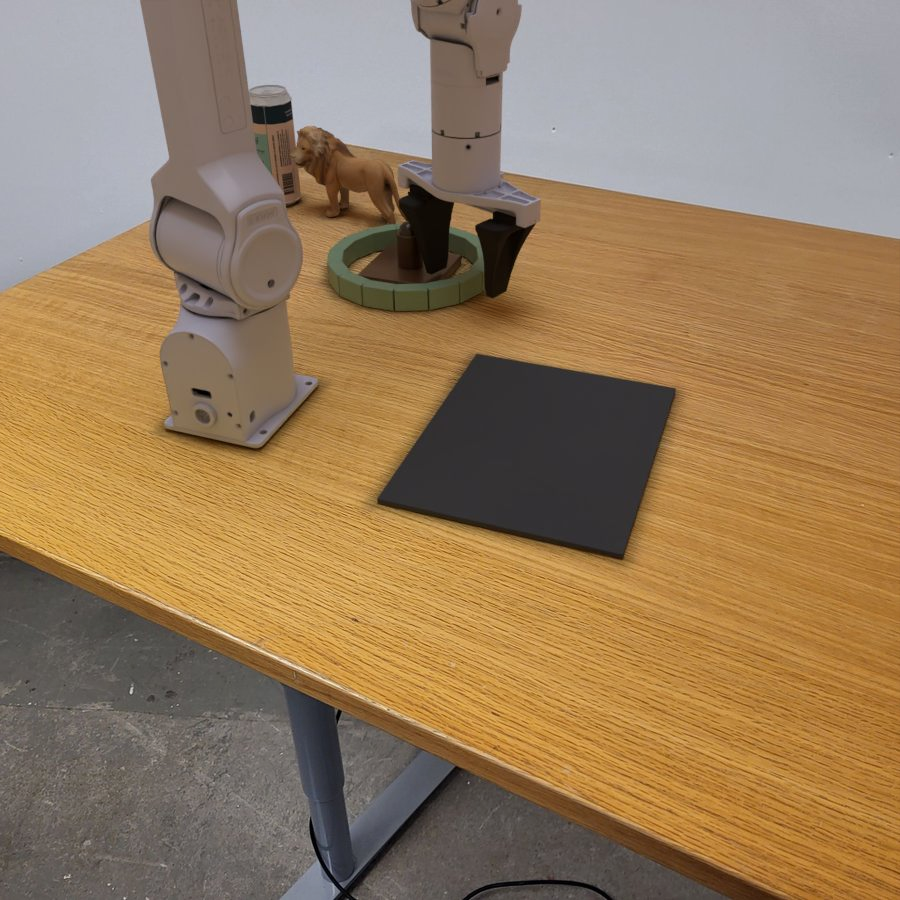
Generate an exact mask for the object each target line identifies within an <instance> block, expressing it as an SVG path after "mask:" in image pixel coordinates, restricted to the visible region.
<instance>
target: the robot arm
mask: <svg viewBox="0 0 900 900" xmlns="http://www.w3.org/2000/svg"><path fill="white" fill-rule="evenodd" d="M139 4H140V8H141V13H142V19H143V24H144V30H145V36H146V40H147V46H148V52H149V56H150V62H151V68H152V72H153V78H154V83H155V89H156V95H157V101H158V106H159V110H160V115H161V116H160V117H161V121H162V126H163V131H164V137H165V142H166V147H167V154H168V160H166V162H165V163H164V164H162V166H161V167H160V168H158V169H157V171H155V173H153V175H152V176H151V178H150V184H151V189H152V196H153V209H152V212H151V217H150V221H149V228H148V238H149V243H150V247H151V250H152V253H153V254H154V256H155V258H156V259H157V261H158V262H159V263H160V264H161V265H162V266H163V267H164V268H166V269H168V270H170V271H171V272H173V277H174V281H175V287H176V289H177V290H178V292H177V293H178V296H179V301H180V302H179V312H178V316H177V320H176V321H175V324H174V326H173V327H172V329H171V330H170V332H169V333H168V334H167V335H166V337H164V340H163V341H162V343H161V345H160V349H159V362H160V368H161V373H162V377H163V381H164V386H165V391H166V397H167V400H168V405H169V409H170V415H169V416H168V417H167V418H166V419H165V420H164V421H163V426H164V428H165V429H167V430H170V431H175V432H180V433H183V434H188V435H193V436H197V437H202V438H207V439H212V440H216V441H221V442H225V443H230V444H234V445H239V446H243V447H247V448H251V449H252V448H253V449H259V448H261V447H263V446H264V445H265V444H266V443H267V442H268V441H269V440H270V439H271V438H272V436H273V435H274V434H275V433H276V432H278V430H279V429H280V427H282V425H284V423H286V421H287V420H288V419H289V418H290V417H291V416H292V415H293V414H294V412H295V411H296V410H297V409H298V408H299V407H300V406H301V404H303V402H304V401H305V400H306V399H307V398H308V397H309V396H310V395H311V394H312V393H313V391H314V390H315V389H316V388H317V387H318V386H319V379H318V378H317V377H314V376H309V375H304V374H298V373H296V372H295V371H296V370H295V363H294V356H293V355H294V354H293V346H292V338H291V337H292V336H291V329H290V321H289V312H288V305H287V301H288V300H290V299H291V292H292V290H293V289H294V287H295V285H296V284H297V282H298V279H299V277H300V276H301V271H302V268H303V262H304V250H303V249H304V248H303V243H302V239H301V237H300V235H299V234H300V233H298V231H297V229H296V228H295V226H294V225H293V224H292V222H291V219H290V218H289V214H288V210H287V206H286V204H285V195H284V193H283V191H282V189H281V188H280V186H279V185H278V183H277V182H276V180H275V179H274V178H273V176H272V175H271V173H270V172H269V171H268V169H267V168H266V166H265V165H264V164H263V162H262V161H261V159H260V158H259V156H258V154H257V150H256V142H255V135H254V127H253V119H252V112H251V104H250V97H249V89H250V88H249V81H248V74H247V68H246V59H245V52H244V45H243V37H242V29H241V21H240V14H239V6H238V0H139ZM410 9H411V17H412V18H411V19H412V22H413V25H414V28H415V31H416V32H418V33H421V35H422V36H423V37H424V38H425V39H428V40H429V59H430V61H429V63H430V68H429V69H430V120H431V121H430V123H431V125H430V126H431V128H430V129H431V163H429V162H423V161H417V160H415V159H412V160H409V161H406V162H403V163H400V164H397V184H398V186H397V187H399V188H402V189H406V190H408V189H409V191H408V192H407V195H404V196H402V197H399V198H400V199H399V208H400V209H401V211H402V212H403V214H404V215H405V217H406V218H407V220H408V222H409V224H410V226H411V228H412V230H413V232H414V234H415V237H416V239H417V242H418V245H419V248H420V251H421V255H422V258H423V262H424V265H425V268H426V272H427V273H429V274H431V275H432V274H434V273H436V272H438V271H440V270H443V269H445V268H446V267H447V262H448V253H450V251H449V228H450V226H451V222H452V216H453V215H452V214H453V210H454V206H455V204H462V205H465V206H468V207H472V208H474V209H477V210H481V211H484V212H486V213H489V214H492V218H489V219H486V220H483V221H482V222H479V223H477V224H475V225H474V230H475V232H476V235H477V236H478V238H479V241H480V244H481V248H482V253H483V260H484V285H485V289H484V292H485V296H486V297H487V298H490V299H494V298H496V297H499V296H500V295H502V294H505V293H506V292H507V291H508V286H509V283H510V280H511V276H512V273H513V269H514V267H515V264H516V261H517V259H518V257H519V254H520V252H521V250H522V248H523V245H524V244H525V242H526V240H527V239H528V237H529V236H530V233H531V232H532V230H534V228H535V226H536V225H537V223H539V222H541V206H542V198H540V197H537V196H533V195H531V194H529V193H527V192H525V191H523V190H522V189H520V188H519V187H517V186H515V185H514V184H512V183H510V182H509V181H507V180H505V179H504V178H505V177H504V175H505V174H504V171H502V170H501V165H502V164H501V161H502V159H501V157H502V155H501V153H502V127H503V126H502V124H503V123H502V121H503V116H502V115H503V86H504V85H503V82H504V79H503V78H504V72H506V71H507V69H508V64H510V62H511V61H510V60H511V47H512V42H513V39H514V38H515V36H516V33H517V31H518V28H519V25H520V20H521V16H522V11H523V6H522V4H521V3H519V0H410Z"/></svg>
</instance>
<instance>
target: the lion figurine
mask: <svg viewBox="0 0 900 900" xmlns="http://www.w3.org/2000/svg"><path fill="white" fill-rule="evenodd" d="M296 133H297V139H296V148H295V149H294V150H293V151H292V152H291V153H290V156H291V158H292V160H294V161H295V163H296V167H297V168H298V170H299V169H303V170H304V171H305V172H306V173H307V174H309V175H310V176H312V177H314V179H315V182H316V183H317V184H319V185H320V186H321V185H322V186H324V187H325V190H326V195H327V198H328V201H329V203H330V206H331V208H330V209H327V210H326V212H325V215H326V216H327V218H334V217H335V218H336V217H337V216H339V214H340V212H341V210H342V209H347V208H349V207H350V191H351V192H353V193H357V194H361V193H366V192H367V194H368V196H369V199H370V200H371V202H372V204H373V205H374V207H375V208H376V209H377V210H378V211H379V212H380V213H381V217H382V218H383V219H384V220H386V221H387V223H386V224H385V225H390V224H394V225H395V224H397V221H396V218H395V214H394V213H395V210H396V208H395V207H397V209H398V211H399V214H400V216H401V217H402V218H403V219H404V221H405V222H406V221H408V220H407V218H406V217H405V215H404V214H403V212H402V211H401V209H400V208H399V199H400V198H401V197H400V194H399V191H398V186H397V183H396V180H395V175H394V170H393V169H392V167H391V166H390V165H389V163H387V162H386V161H384V160H383V159H376V158H375V159H372V158H371V159H369V158H362V157H359V156H355V155H354V154H353V153H352V152H350V150H349V147H348V146H347V144H345V143H344V142H343V141H342V140H341V139H340V138H339V137H335V135H334V134H333V133H332V132H329V131H328V130H325V129H323V128H322V127H317V126H316V125H306V126H304V127H301V128H300V129H299V130H297V131H296ZM339 195H340V197H339ZM339 198H340V199H339ZM393 199H394V201H393ZM394 202H395V204H396V206H395V204H394Z"/></svg>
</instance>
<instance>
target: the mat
mask: <svg viewBox="0 0 900 900" xmlns="http://www.w3.org/2000/svg"><path fill="white" fill-rule="evenodd" d="M676 391H677V388H676V387H671V386H665V385H658V384H655V383H654V384H653V383H648V382H642V381H637V380H631V379H625V378H620V377H619V378H618V377H613V376H608V375H602V374H595V373H591V372H586V371H585V372H584V371H579V370H573V369H569V368H568V369H567V368H562V367H556V366H550V365H544V364H538V363H533V362H528V361H522V360H515V359H510V358H504V357H498V356H493V355H487V354H481V353H476V354H475V355H474V357H473V358H472V359H471V361H470V363H469V364H468V365H467V367H466V368H465V370H464V372H463V373H462V374H461V376H460V377H459V379H458V380H457V382H456V383H455V384H454V386H453V387H452V389H451V390H450V391H449V393H448V395H447V396H446V398H445V399H444V400H443V401H442V403H441V405H440V406H439V408H438V409H437V411H436V412H435V414H433V417H432V418H431V419H430V421H429V422H428V424H427V425H426V426H425V427H424V429H423V430H422V432H421V434H420V435H419V437H418V439H417V440H416V441H415V442H414V444H413V446H412V447H411V448H410V450H409V451H408V452H407V454H406V456H405V457H404V459H403V460H402V462H401V463H400V465H399V466H398V467H397V468H396V470H395V472H394V473H393V474H392V476H391V478H390V479H389V480H388V482H387V484H386V485H385V486H384V488H383V489H382V491H381V493H379V495H378V497H377V498H376V499H377V500H376V503H377V504H380V505H384V506H389V507H392V508H398V509H402V510H404V511H405V510H406V511H411V512H414V513H418V514H424V515H427V516H432V517H436V518H441V519H445V520H449V521H452V522H453V521H454V522H457V523H462V524H467V525H471V526H476V527H480V528H484V529H489V530H492V531H497V532H501V533H506V534H510V535H515V536H519V537H524V538H528V539H532V540H536V541H541V542H545V543H549V544H554V545H559V546H563V547H567V548H572V549H576V550H581V551H584V552H589V553H593V554H597V555H601V556H606V557H609V558H610V557H611V558H615V559H619V560H623V559H624V556H625V553H626V549H627V547H628V543H629V540H630V536H631V533H632V530H633V527H634V524H635V521H636V518H637V514H638V512H639V508H640V505H641V502H642V499H643V496H644V493H645V490H646V487H647V484H648V480H649V476H650V475H651V474H650V473H651V470H652V467H653V464H654V462H655V458H656V456H657V451H658V450H659V449H658V448H659V445H660V442H661V440H662V436H663V432H664V429H665V427H666V423H667V421H668V417H669V413H670V410H671V408H672V404H673V401H674V399H675V396H676V395H675V394H676Z"/></svg>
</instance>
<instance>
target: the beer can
mask: <svg viewBox="0 0 900 900" xmlns="http://www.w3.org/2000/svg"><path fill="white" fill-rule="evenodd" d="M248 89H249V97H250V104H251V112H252V119H253V127H254V135H255V142H256V150H257V154H258V156H259V158H260V159H261V161H262V162H263V164H264V165H265V166H266V168H267V169H268V171H269V172H270V173H271V175H272V176H273V178H274V179H275V180H276V182H277V183H278V185H279V186H280V188H281V189H282V191H283V193H284V195H285V204H286V207H288V206H292V205H294V204H296V202H297V201H299V200H300V199H301V198H302V193H301V182H300V173H299V172H300V171H299V168H297V167H296V163H295V161H294V160H292V158H291V156H290V153H291V152H292V151H293V150H294V149H295V148H296V146H297V144H296V143H297V141H296V133H295V124H294V116H293V115H294V114H293V113H294V112H293V104H292V100H293V99H292V96H291V95H290V93H289V91H288V89H287V88H286V86H283V85H279V84H264V85H256V86H253V87H251V88H248Z"/></svg>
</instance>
